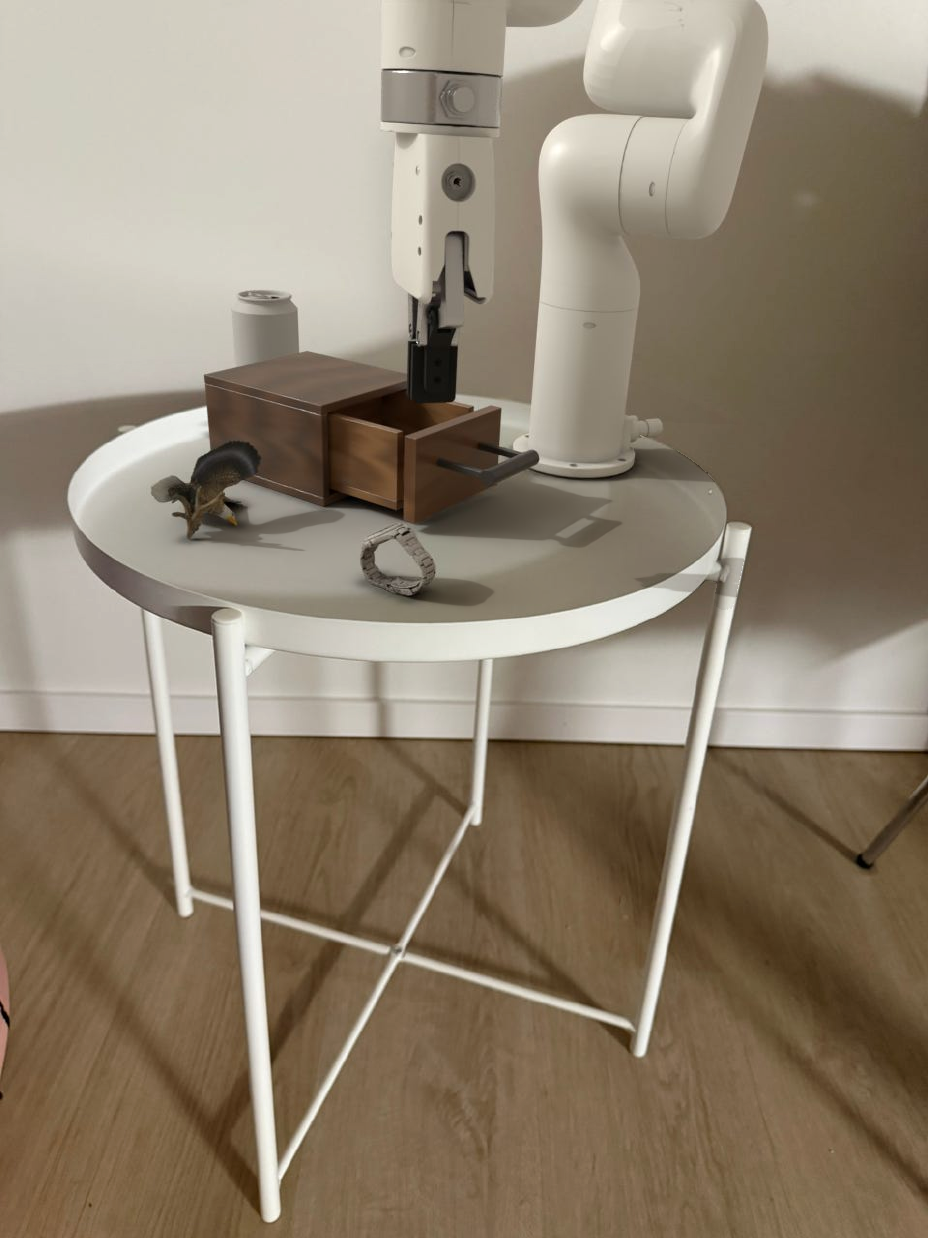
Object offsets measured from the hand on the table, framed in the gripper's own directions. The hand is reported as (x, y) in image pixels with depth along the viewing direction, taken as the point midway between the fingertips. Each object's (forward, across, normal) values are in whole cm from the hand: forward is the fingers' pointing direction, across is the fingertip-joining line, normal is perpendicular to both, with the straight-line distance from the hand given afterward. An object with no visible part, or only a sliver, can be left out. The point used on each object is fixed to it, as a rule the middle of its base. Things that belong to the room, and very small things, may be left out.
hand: (430, 399), depth 68 cm
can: (+13, +50, +7) cm, 52 cm away
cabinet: (+13, +24, +5) cm, 28 cm away
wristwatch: (+14, -3, +3) cm, 14 cm away
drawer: (+12, +14, -3) cm, 19 cm away
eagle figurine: (+13, +12, +15) cm, 24 cm away
